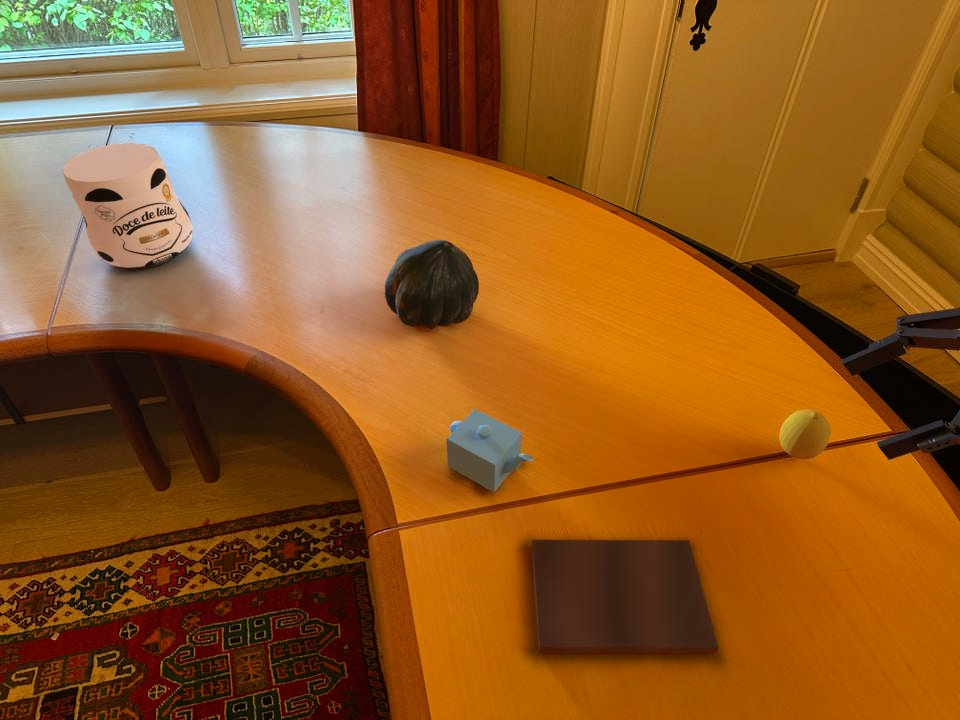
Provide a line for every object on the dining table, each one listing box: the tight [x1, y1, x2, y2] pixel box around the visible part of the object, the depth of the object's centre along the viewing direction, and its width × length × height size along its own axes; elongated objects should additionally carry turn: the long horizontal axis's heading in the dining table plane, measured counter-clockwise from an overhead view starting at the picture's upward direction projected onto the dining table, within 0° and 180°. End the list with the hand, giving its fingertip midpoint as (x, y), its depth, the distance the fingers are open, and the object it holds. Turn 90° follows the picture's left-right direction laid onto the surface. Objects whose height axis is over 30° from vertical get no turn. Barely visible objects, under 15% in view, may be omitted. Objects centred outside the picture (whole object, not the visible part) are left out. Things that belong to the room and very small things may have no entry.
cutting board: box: [531, 539, 719, 655], centre depth 65 cm, size 18×12×2 cm, turn 90°
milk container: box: [62, 142, 194, 270], centre depth 110 cm, size 17×17×18 cm
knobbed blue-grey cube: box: [445, 408, 534, 493], centre depth 76 cm, size 12×6×8 cm, turn 56°
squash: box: [384, 239, 480, 330], centre depth 97 cm, size 14×15×15 cm
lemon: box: [778, 409, 832, 460], centre depth 77 cm, size 6×6×8 cm
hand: (863, 407), depth 73 cm, fingers open, 13 cm apart
